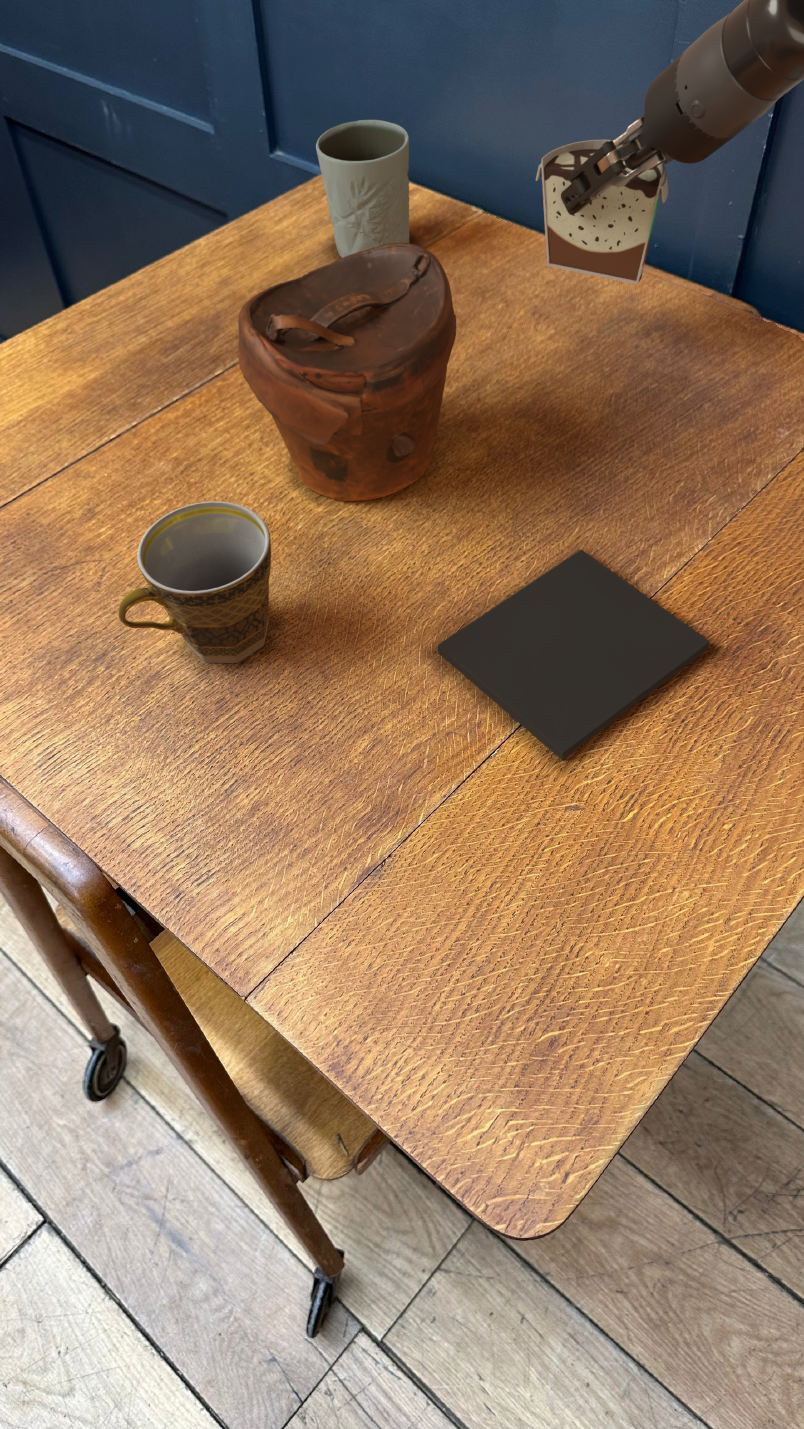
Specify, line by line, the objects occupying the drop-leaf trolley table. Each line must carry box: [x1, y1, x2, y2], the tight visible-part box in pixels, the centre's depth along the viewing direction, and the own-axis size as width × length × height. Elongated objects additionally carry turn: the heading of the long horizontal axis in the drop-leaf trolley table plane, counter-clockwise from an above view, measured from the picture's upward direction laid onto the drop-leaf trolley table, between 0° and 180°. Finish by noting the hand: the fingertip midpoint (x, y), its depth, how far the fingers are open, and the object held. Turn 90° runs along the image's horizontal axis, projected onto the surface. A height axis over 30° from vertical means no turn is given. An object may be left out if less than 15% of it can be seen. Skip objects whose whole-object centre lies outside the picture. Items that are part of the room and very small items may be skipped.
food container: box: [535, 139, 669, 285], centre depth 97 cm, size 12×6×10 cm, turn 61°
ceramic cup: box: [118, 500, 272, 664], centre depth 80 cm, size 13×10×10 cm
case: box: [237, 242, 457, 502], centre depth 90 cm, size 18×20×18 cm
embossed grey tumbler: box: [315, 119, 410, 258], centre depth 116 cm, size 10×10×12 cm
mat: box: [437, 549, 711, 761], centre depth 81 cm, size 16×14×1 cm
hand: (597, 189), depth 96 cm, fingers closed on food container, 7 cm apart
